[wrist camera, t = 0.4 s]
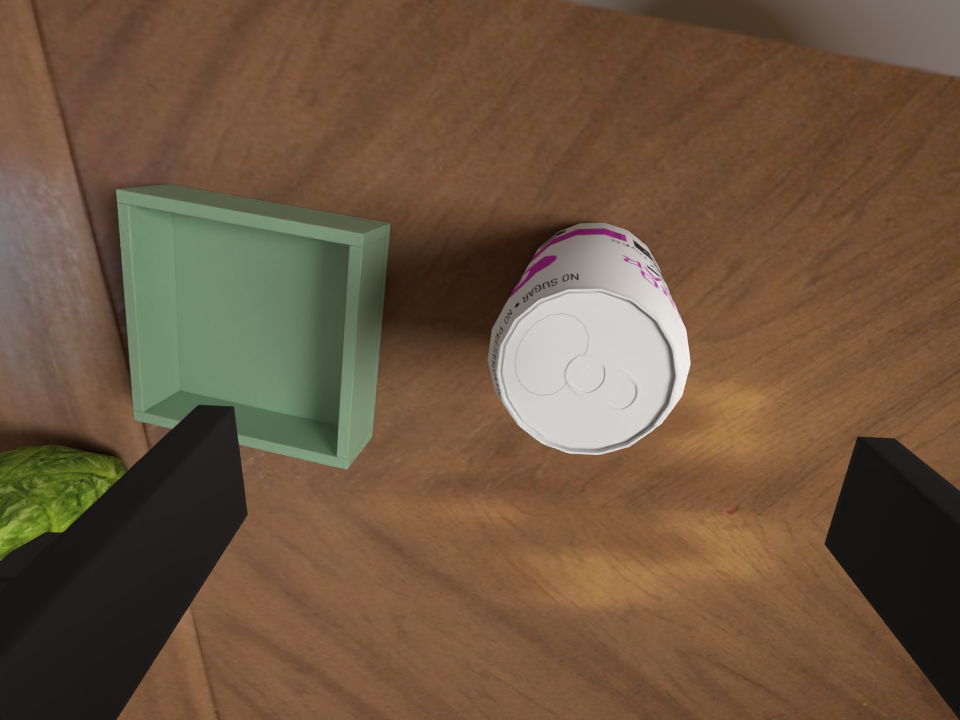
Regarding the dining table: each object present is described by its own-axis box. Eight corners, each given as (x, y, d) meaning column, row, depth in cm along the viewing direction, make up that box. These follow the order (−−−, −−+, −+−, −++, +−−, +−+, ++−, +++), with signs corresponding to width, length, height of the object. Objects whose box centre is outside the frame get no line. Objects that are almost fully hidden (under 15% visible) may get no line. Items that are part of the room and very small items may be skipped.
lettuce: (207, 641, 59) (86, 597, 62) (162, 445, 46) (12, 402, 49) (88, 796, 47) (-56, 732, 50) (-17, 588, 35) (-198, 520, 38)
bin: (168, 183, 40) (115, 188, 36) (391, 223, 38) (363, 233, 34) (178, 393, 46) (133, 420, 42) (372, 437, 44) (346, 470, 40)
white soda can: (503, 312, 39) (448, 407, 25) (567, 195, 36) (544, 231, 22) (613, 372, 39) (619, 501, 25) (687, 261, 36) (740, 338, 22)
